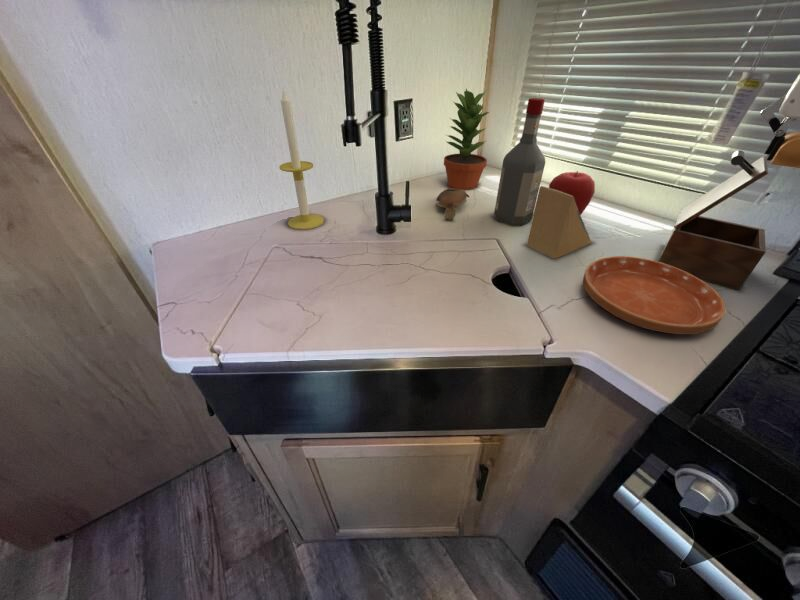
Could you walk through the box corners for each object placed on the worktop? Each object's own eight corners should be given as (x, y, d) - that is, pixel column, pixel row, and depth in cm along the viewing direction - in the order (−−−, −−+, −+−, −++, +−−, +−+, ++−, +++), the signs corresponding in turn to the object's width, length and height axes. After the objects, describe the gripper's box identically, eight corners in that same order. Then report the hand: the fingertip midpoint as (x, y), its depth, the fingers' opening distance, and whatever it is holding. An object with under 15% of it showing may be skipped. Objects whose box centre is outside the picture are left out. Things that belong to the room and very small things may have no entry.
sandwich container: (593, 242, 88) (615, 183, 79) (554, 259, 81) (573, 196, 72) (564, 230, 94) (581, 173, 85) (525, 245, 87) (540, 185, 78)
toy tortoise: (433, 222, 100) (468, 218, 97) (430, 205, 97) (466, 200, 95) (441, 199, 116) (471, 195, 113) (439, 183, 113) (470, 179, 110)
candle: (284, 229, 94) (253, 90, 75) (292, 215, 102) (267, 85, 83) (321, 229, 94) (300, 89, 75) (326, 214, 102) (309, 85, 83)
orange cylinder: (804, 168, 60) (823, 140, 57) (770, 164, 62) (787, 137, 60) (800, 160, 64) (818, 133, 62) (769, 156, 67) (785, 130, 64)
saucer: (748, 334, 60) (762, 317, 58) (629, 348, 58) (638, 331, 55) (652, 266, 79) (660, 252, 76) (558, 275, 76) (563, 260, 74)
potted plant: (484, 179, 129) (498, 84, 111) (481, 193, 117) (495, 89, 99) (445, 176, 132) (451, 83, 114) (437, 189, 120) (444, 88, 102)
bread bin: (740, 265, 79) (764, 229, 74) (738, 290, 71) (766, 251, 66) (664, 246, 87) (681, 212, 81) (655, 266, 79) (674, 230, 73)
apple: (562, 207, 107) (575, 162, 99) (594, 221, 99) (611, 173, 91) (532, 214, 103) (543, 167, 95) (563, 229, 94) (578, 179, 86)
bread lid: (766, 158, 69) (746, 140, 70) (768, 173, 61) (745, 152, 62) (684, 211, 81) (667, 195, 82) (676, 229, 73) (658, 211, 74)
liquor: (534, 218, 100) (564, 99, 82) (518, 228, 95) (546, 102, 77) (506, 210, 105) (528, 95, 87) (489, 218, 100) (509, 99, 82)
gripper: (793, 35, 54) (727, 158, 65) (966, 34, 46) (857, 175, 57) (790, 36, 59) (729, 150, 70) (946, 35, 50) (849, 165, 61)
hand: (787, 160), depth 63 cm, fingers closed on orange cylinder, 4 cm apart
